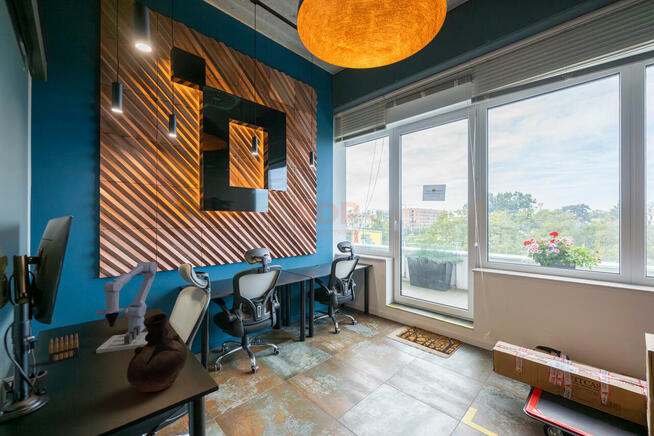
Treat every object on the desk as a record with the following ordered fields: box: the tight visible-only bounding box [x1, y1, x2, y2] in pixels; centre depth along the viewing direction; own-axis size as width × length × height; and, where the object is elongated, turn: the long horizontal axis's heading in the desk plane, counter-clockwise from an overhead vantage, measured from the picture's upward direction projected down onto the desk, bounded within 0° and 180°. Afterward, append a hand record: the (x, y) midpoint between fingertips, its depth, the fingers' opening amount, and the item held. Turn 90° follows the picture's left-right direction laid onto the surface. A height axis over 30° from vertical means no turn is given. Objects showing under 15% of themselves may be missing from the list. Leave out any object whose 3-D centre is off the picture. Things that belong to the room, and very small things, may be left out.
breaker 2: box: [134, 326, 140, 335], centre depth 154 cm, size 3×2×4 cm
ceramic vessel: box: [126, 312, 188, 393], centre depth 108 cm, size 21×18×30 cm
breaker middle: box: [129, 330, 136, 339], centre depth 149 cm, size 3×2×4 cm
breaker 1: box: [124, 333, 132, 344], centre depth 143 cm, size 3×2×4 cm
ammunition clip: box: [47, 333, 79, 365], centre depth 130 cm, size 11×2×12 cm, turn 135°
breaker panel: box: [95, 331, 148, 354], centre depth 148 cm, size 18×22×2 cm
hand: (112, 326), depth 149 cm, fingers closed
